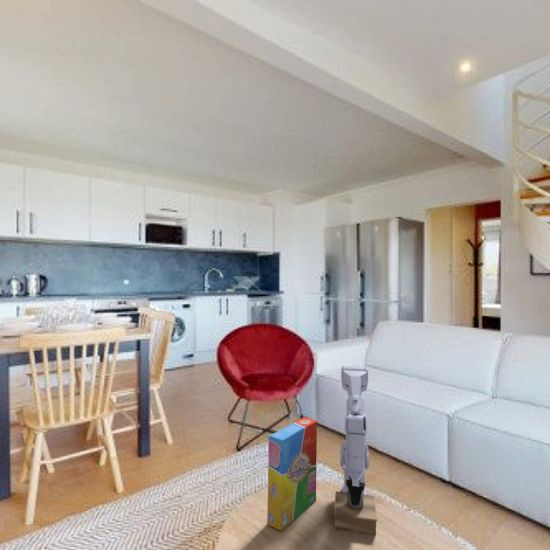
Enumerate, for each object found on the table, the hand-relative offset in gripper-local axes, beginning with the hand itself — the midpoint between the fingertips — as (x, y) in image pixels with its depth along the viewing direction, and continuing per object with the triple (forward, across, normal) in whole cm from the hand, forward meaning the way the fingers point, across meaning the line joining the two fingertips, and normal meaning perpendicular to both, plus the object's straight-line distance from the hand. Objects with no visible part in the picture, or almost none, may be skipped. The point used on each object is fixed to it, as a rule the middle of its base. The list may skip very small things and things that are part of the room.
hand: (355, 497), depth 117 cm
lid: (+3, 0, 0) cm, 3 cm away
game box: (+8, 0, -20) cm, 21 cm away
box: (+7, 0, 0) cm, 7 cm away
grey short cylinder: (+2, 0, 0) cm, 3 cm away
